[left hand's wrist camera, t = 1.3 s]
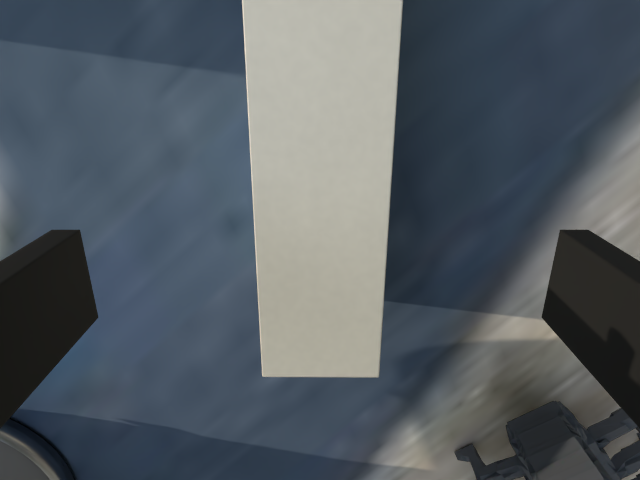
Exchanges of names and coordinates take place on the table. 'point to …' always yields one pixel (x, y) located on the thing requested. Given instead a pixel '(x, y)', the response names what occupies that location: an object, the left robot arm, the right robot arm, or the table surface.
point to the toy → (560, 448)
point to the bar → (321, 178)
